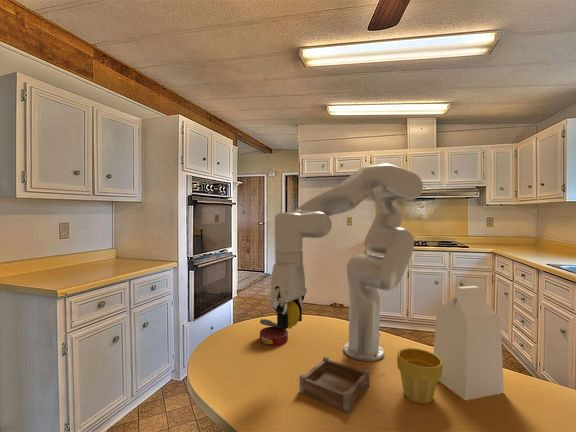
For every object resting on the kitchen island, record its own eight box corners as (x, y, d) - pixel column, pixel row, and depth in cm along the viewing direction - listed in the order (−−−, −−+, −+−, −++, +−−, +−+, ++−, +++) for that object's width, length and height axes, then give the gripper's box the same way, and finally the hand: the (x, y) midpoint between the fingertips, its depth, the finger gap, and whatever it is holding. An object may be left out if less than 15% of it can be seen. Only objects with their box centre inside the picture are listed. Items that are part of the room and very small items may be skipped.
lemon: (297, 333, 82) (297, 303, 81) (277, 331, 83) (276, 302, 83) (301, 325, 87) (301, 297, 87) (282, 324, 88) (282, 296, 88)
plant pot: (443, 391, 79) (444, 353, 79) (439, 414, 70) (440, 371, 70) (400, 379, 84) (401, 344, 84) (392, 399, 76) (393, 359, 75)
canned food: (259, 352, 110) (252, 323, 113) (285, 344, 114) (278, 316, 118) (267, 349, 100) (260, 318, 104) (295, 341, 104) (287, 311, 108)
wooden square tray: (324, 369, 89) (324, 356, 89) (370, 385, 81) (370, 370, 81) (298, 392, 78) (298, 376, 78) (348, 413, 70) (348, 396, 70)
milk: (465, 400, 76) (468, 294, 75) (431, 375, 87) (433, 283, 86) (503, 393, 79) (506, 291, 78) (466, 370, 90) (468, 280, 89)
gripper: (296, 252, 93) (297, 312, 94) (257, 261, 80) (258, 331, 80) (317, 254, 89) (318, 317, 89) (279, 264, 75) (280, 338, 76)
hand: (289, 323), depth 85 cm, fingers closed on lemon, 5 cm apart
